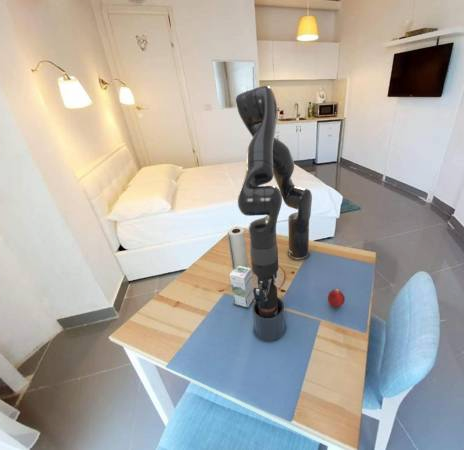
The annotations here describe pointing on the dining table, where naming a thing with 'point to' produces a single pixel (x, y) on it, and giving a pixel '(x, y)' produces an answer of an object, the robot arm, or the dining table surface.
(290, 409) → the dining table surface
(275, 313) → the deodorant
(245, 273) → the syrup box
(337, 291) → the onion
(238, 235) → the paper towel roll
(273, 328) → the dark grey cup
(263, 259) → the robot arm
